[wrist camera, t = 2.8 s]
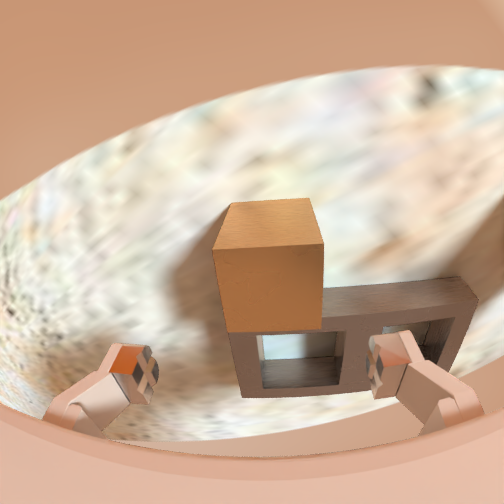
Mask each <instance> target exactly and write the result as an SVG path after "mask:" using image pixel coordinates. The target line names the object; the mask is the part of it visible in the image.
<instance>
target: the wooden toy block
mask: <svg viewBox="0 0 504 504" xmlns="http://www.w3.org/2000/svg"><path fill="white" fill-rule="evenodd" d="M212 252H213V258H214V264H215V269H216V275H217V280H218V286H219V291H220V297H221V302H222V307H223V312H224V317H225V322H226V327H227V332H270V331H294V330H312V329H321V323H322V302H323V271H324V242H323V239H322V236H321V233H320V229H319V226H318V223H317V220H316V217H315V214H314V211H313V208H312V205H311V202H310V199H309V198H298V199H280V200H264V201H250V202H236V203H231V205H230V208H229V210H228V212H227V215H226V217H225V219H224V222H223V224H222V227H221V229H220V231H219V234H218V236H217V239H216V241H215V244H214V246H213V248H212Z"/></svg>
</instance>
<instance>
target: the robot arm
mask: <svg viewBox="0 0 504 504" xmlns="http://www.w3.org/2000/svg"><path fill="white" fill-rule="evenodd" d="M369 347H370V350H369V351H368V352H367V354H366V371H367V375H368V377H369V378H371V379H372V381H371V385H370V386H371V390H372V393H373V397H374V399H381V398H388V397H394V396H396V398H397V399H398V400H399V401H400V402H401V403H402V404H404V406H405V407H406V408H407V409H408V410H410V411H411V412H412V413H413V414H414V415H415V416H416V417H417V418H418V419H419V420H420V421H421V422H422V423H423V424H424V427H423V428H422V430H421V432H420V433H419V435H418V436H417V437H413V438H409V439H405V440H401V441H397V442H392V443H387V444H383V445H377V446H372V447H367V448H360V449H354V450H347V451H340V452H331V453H323V454H310V455H297V456H275V457H238V456H215V455H201V454H189V453H181V452H173V451H165V450H158V449H151V448H146V447H140V446H135V445H130V444H124V443H120V442H115V441H111V440H108V438H107V437H106V436H105V435H104V434H103V433H102V432H101V431H102V430H103V429H105V428H106V427H107V426H108V425H109V424H110V423H111V422H112V421H113V420H114V419H115V418H116V417H117V416H118V415H119V414H120V413H121V412H122V411H123V410H124V409H125V408H126V407H127V406H128V405H129V404H130V403H137V404H147V405H149V403H150V400H151V397H152V394H153V390H152V386H153V385H155V384H156V383H157V380H158V375H159V369H158V364H157V362H156V360H155V359H153V358H152V357H151V354H152V351H151V349H150V347H149V346H147V345H137V344H122V343H114V344H112V345H111V347H110V348H109V350H108V352H107V354H106V356H105V358H104V359H103V361H102V363H101V365H100V367H99V369H98V371H93V372H92V373H90V374H89V375H87V376H86V377H84V378H83V379H81V380H80V381H78V382H77V383H76V384H74V385H73V386H71V387H70V388H68V389H67V390H65V391H64V392H62V393H61V394H59V395H58V396H56V397H55V398H54V399H53V400H52V402H51V404H50V406H49V408H48V409H47V411H46V413H45V415H44V417H43V419H42V420H40V419H37V418H35V417H32V416H29V415H27V414H24V413H22V412H20V411H17V410H15V409H12V408H10V407H8V406H6V405H3V404H1V403H0V504H504V407H501V408H499V409H497V410H494V411H492V412H490V413H487V414H485V413H484V411H483V408H482V406H481V404H480V402H479V400H478V397H477V395H476V394H475V391H474V389H473V388H471V387H470V386H468V385H466V384H465V383H463V382H462V381H460V380H459V379H457V378H456V377H454V376H453V375H451V374H450V373H448V372H446V371H445V370H443V369H442V368H440V367H439V366H437V365H436V364H434V363H433V362H431V361H429V360H424V357H423V355H422V353H421V351H420V349H419V347H418V345H417V343H416V341H415V339H414V337H413V335H412V333H411V331H410V330H405V331H399V332H393V333H386V334H380V335H373V336H371V337H370V339H369Z"/></svg>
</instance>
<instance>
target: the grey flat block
mask: <svg viewBox="0 0 504 504" xmlns="http://www.w3.org/2000/svg"><path fill="white" fill-rule="evenodd" d="M478 300H479V299H478V298H477V297H476V295H475V294H474V293H473V292H472V290H471V289H470V288H469V287H468V285H467V284H466V283H465V282H464V280H463V279H462V278H461V277H460V276H459V277H450V278H441V279H431V280H421V281H411V282H400V283H388V284H376V285H363V286H349V287H335V288H323V302H322V323H321V329H312V330H294V331H270V332H228V334H229V339H230V343H231V348H232V353H233V358H234V363H235V368H236V372H237V377H238V382H239V386H240V391H241V395H242V398H281V397H304V396H319V395H332V394H342V393H352V392H360V391H368V390H371V386H370V385H371V381H372V379H371V378H369V377H368V375H367V371H366V354H367V352H368V351H369V350H370V347H369V339H370V337H371V336H373V335H380V334H382V331H383V327H385V326H394V325H402V324H410V323H417V322H424V321H431V322H430V325H429V329H428V332H427V335H426V338H425V341H424V344H423V345H422V346H418V347H419V349H420V351H421V353H422V355H423V357H424V360H429V361H431V362H433V363H434V364H436V365H437V366H439V367H440V368H442V369H443V370H445V371H446V372H449V370H450V368H451V366H452V364H453V362H454V360H455V358H456V355H457V353H458V351H459V349H460V346H461V344H462V342H463V339H464V337H465V335H466V332H467V330H468V327H469V325H470V322H471V319H472V317H473V314H474V311H475V309H476V306H477V303H478ZM333 331H337V335H336V344H335V353H334V356H332V357H318V358H302V359H281V360H265V358H264V349H263V339H262V335H282V334H302V333H319V332H333Z"/></svg>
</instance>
